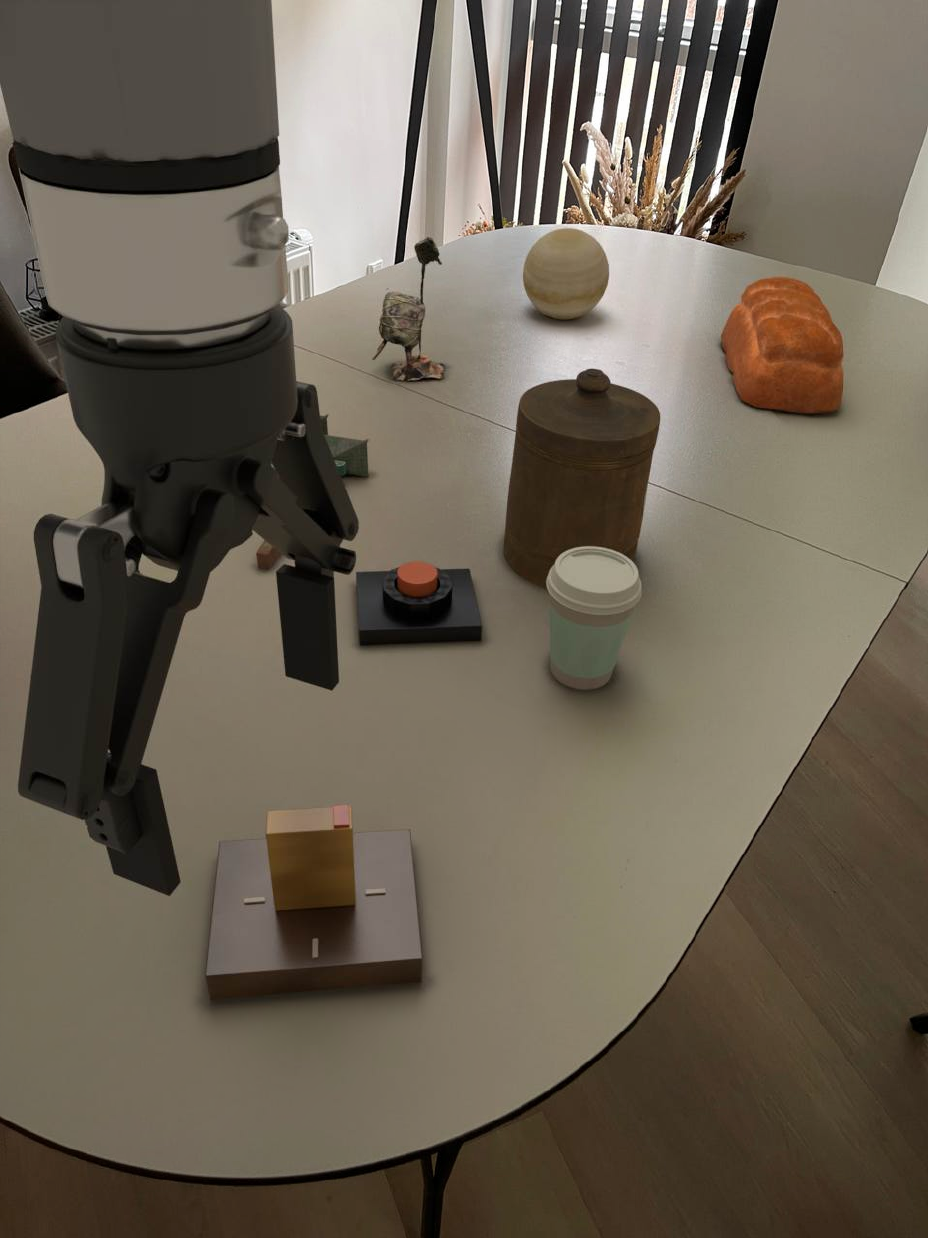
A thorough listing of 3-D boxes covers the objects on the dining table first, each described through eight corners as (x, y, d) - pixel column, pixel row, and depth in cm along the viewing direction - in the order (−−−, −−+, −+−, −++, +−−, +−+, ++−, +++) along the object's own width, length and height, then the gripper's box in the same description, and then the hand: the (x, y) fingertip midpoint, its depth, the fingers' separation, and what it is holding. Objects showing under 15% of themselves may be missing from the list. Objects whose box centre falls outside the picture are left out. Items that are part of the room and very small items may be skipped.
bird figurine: (382, 359, 151) (381, 227, 139) (451, 368, 149) (456, 235, 137) (367, 378, 144) (365, 242, 132) (439, 388, 143) (444, 251, 131)
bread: (738, 410, 141) (759, 324, 133) (716, 335, 166) (732, 258, 158) (845, 419, 140) (872, 333, 132) (806, 342, 165) (827, 265, 157)
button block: (359, 648, 93) (358, 615, 90) (356, 588, 101) (355, 557, 98) (481, 643, 94) (483, 610, 92) (468, 585, 102) (470, 554, 100)
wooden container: (660, 560, 108) (697, 376, 94) (575, 611, 99) (604, 416, 86) (561, 509, 116) (583, 332, 102) (475, 552, 107) (487, 365, 94)
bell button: (398, 598, 93) (398, 584, 92) (396, 575, 96) (396, 561, 95) (439, 597, 94) (439, 582, 93) (435, 574, 97) (435, 560, 96)
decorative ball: (613, 312, 173) (625, 226, 164) (588, 338, 162) (599, 247, 153) (536, 297, 178) (544, 213, 169) (506, 321, 167) (513, 232, 158)
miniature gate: (68, 508, 103) (189, 383, 125) (80, 549, 107) (196, 421, 129) (301, 548, 99) (385, 412, 121) (306, 589, 103) (386, 449, 125)
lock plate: (210, 1002, 63) (204, 974, 61) (223, 867, 71) (219, 839, 69) (421, 984, 64) (422, 957, 62) (409, 854, 73) (410, 827, 71)
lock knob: (274, 911, 65) (264, 831, 60) (275, 887, 66) (266, 807, 61) (355, 905, 65) (352, 826, 60) (354, 881, 67) (351, 802, 62)
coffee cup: (642, 673, 91) (664, 570, 84) (587, 714, 86) (604, 609, 79) (574, 633, 96) (589, 532, 89) (517, 669, 91) (528, 566, 84)
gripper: (-27, 509, 20) (135, 1035, 33) (432, 232, 39) (423, 636, 52) (-276, 438, 22) (-33, 959, 35) (274, 207, 41) (303, 601, 54)
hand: (239, 767), depth 44 cm, fingers open, 13 cm apart
